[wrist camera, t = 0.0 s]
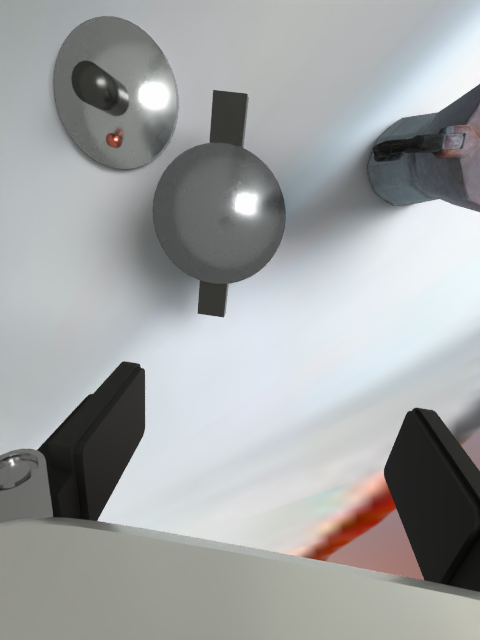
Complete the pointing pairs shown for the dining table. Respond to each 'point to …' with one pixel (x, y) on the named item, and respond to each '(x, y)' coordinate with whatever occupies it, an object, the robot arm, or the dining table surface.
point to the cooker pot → (219, 207)
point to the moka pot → (431, 157)
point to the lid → (115, 93)
